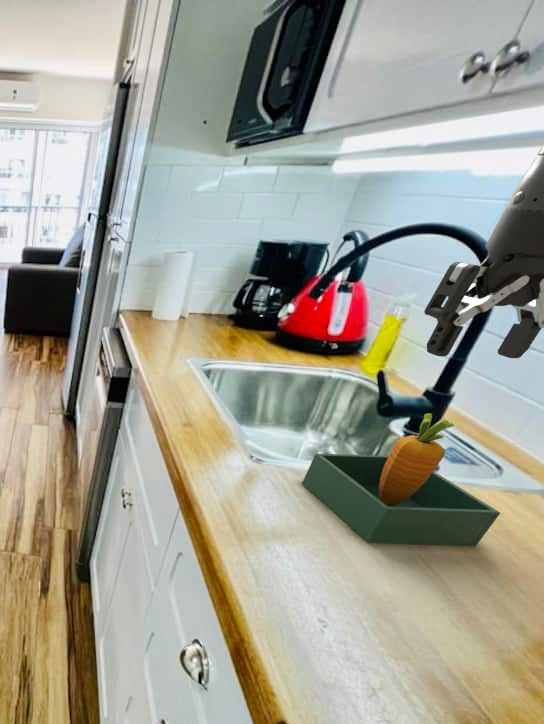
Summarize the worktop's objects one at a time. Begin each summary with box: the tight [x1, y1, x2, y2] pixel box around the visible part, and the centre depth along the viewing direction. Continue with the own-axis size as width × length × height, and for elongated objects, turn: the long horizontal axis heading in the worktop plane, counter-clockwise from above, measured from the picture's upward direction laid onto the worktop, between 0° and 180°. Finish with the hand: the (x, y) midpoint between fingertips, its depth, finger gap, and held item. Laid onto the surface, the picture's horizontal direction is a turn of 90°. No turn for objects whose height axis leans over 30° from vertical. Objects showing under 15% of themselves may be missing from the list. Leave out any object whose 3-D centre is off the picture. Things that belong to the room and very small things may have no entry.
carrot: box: [379, 412, 455, 507], centre depth 66 cm, size 5×5×15 cm
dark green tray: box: [301, 452, 501, 548], centre depth 68 cm, size 14×14×6 cm
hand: (471, 355), depth 58 cm, fingers open, 8 cm apart
